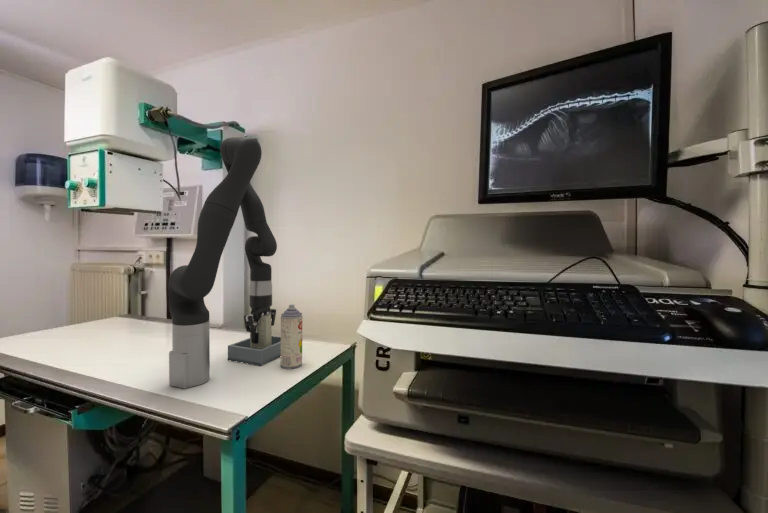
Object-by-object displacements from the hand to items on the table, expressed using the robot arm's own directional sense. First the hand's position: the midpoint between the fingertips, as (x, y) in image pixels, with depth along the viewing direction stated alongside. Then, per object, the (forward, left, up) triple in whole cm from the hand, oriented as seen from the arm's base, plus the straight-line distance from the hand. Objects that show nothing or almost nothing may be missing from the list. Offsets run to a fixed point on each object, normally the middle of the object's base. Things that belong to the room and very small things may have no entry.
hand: (260, 340), depth 118 cm
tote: (0, 0, -5) cm, 5 cm away
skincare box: (0, 0, -3) cm, 3 cm away
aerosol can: (-3, -15, -6) cm, 17 cm away
